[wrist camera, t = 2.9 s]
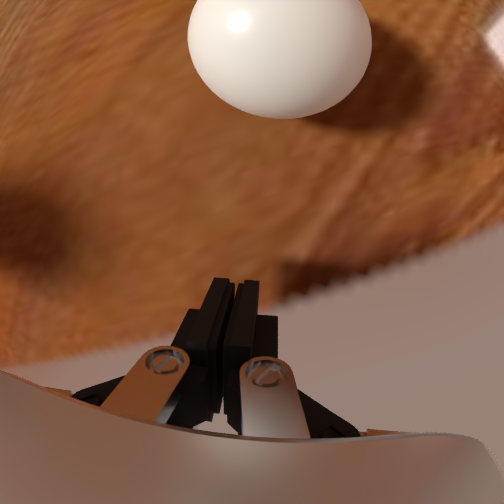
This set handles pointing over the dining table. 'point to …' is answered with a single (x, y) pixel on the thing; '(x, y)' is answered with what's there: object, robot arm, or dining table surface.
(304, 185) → the dining table surface
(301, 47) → the cue ball
